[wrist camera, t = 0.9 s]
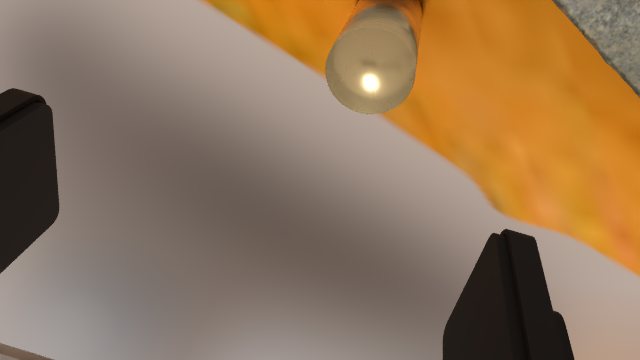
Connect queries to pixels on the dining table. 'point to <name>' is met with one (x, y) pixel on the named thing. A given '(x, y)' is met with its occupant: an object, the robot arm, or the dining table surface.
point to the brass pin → (376, 55)
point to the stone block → (610, 32)
